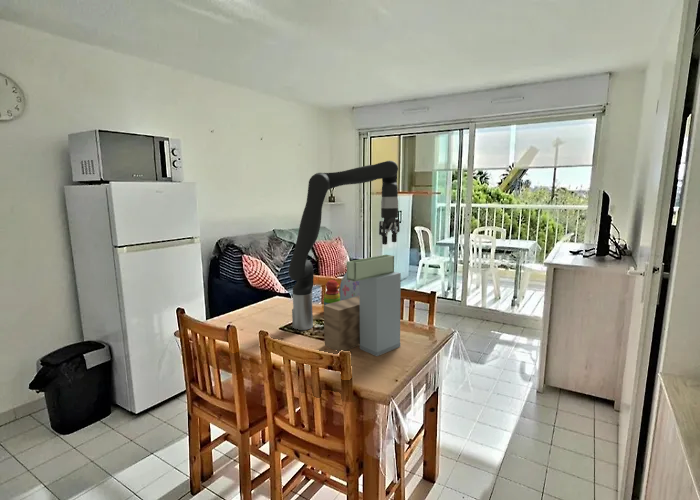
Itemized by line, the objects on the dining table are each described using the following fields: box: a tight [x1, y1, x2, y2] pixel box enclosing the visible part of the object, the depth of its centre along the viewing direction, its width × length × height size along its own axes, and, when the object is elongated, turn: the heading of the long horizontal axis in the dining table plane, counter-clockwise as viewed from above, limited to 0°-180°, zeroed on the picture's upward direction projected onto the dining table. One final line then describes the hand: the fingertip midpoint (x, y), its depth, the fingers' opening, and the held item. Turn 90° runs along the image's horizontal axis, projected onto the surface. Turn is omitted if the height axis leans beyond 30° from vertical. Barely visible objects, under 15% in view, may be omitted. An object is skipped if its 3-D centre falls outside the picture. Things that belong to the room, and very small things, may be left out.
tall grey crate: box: [359, 271, 402, 357], centre depth 160 cm, size 14×10×32 cm
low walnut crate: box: [323, 296, 360, 353], centre depth 168 cm, size 23×10×18 cm, turn 131°
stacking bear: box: [323, 279, 340, 306], centre depth 208 cm, size 11×10×18 cm
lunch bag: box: [339, 271, 359, 301], centre depth 192 cm, size 22×17×26 cm
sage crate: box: [346, 254, 395, 281], centre depth 154 cm, size 22×4×7 cm, turn 131°
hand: (389, 243), depth 173 cm, fingers open, 8 cm apart
